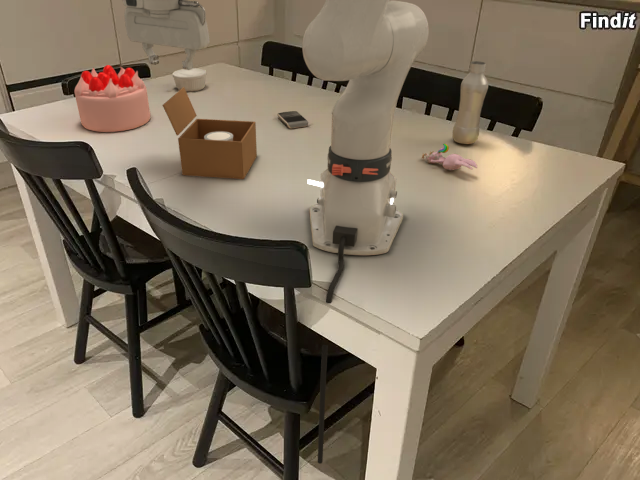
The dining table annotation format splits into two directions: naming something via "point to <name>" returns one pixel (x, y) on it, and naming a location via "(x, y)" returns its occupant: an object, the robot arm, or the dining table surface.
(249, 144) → the carton
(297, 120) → the cell phone
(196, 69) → the ramekin
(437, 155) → the pink elongated figure
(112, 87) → the cake
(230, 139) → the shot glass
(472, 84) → the plastic bottle
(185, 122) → the flap
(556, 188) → the dining table surface
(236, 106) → the dining table surface
